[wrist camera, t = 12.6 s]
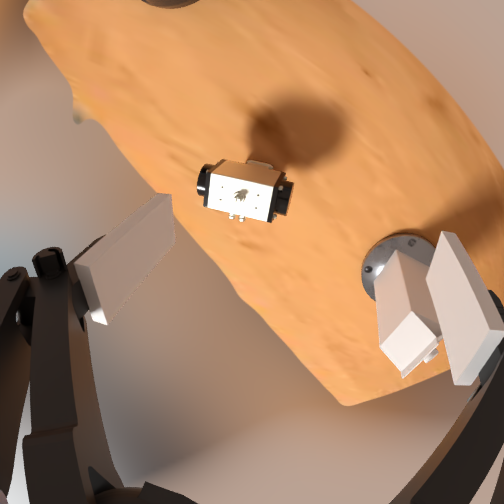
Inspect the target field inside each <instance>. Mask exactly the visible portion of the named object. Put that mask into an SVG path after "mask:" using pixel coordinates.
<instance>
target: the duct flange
mask: <svg viewBox="0 0 504 504" xmlns="http://www.w3.org/2000/svg"><path fill="white" fill-rule="evenodd" d="M395 250H398V251H400V252H402V253H404V254H406V255H408V256H410V257H412V258H414V259H415V260H417V261H419V262H421V263H423V264H425V265H427V266H428V267H430V265H431V262H432V259H433V256H434V253H435V250H436V249H435V247H434V246H433V245H432V244H431V242H429V241H428V240H427V239H425V238H424V237H422V236H419V235H416V234H412V233H399V234H394V235H390V236H388V237H386V238H384V239H382V240H380V241H379V242H377V243H376V244H375V245H374V246H373V247H372V248H371V249H370V250H369V251H368V253H367V255H366V256H365V258H364V261H363V264H362V269H361V275H362V283H363V287H364V289H365V291H366V292H367V294H368V295H369V296H370V297H371V298H372V299H373V300H374V301H376V298H375V289H374V280H375V279H376V277H377V276H378V275H379V273H380V272H381V270H382V269H383V267H384V266H385V264H386V263H387V262H388V260H389V259H390V257H391V256H392V254H393V253H394V251H395Z"/></svg>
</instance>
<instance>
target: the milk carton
mask: <svg viewBox="0 0 504 504" xmlns="http://www.w3.org/2000/svg"><path fill="white" fill-rule="evenodd" d="M429 268H430V267H428V266H427V265H425V264H423V263H421V262H419V261H417V260H415V259H414V258H412V257H410V256H408V255H406V254H404V253H402V252H400V251H398V250H395V251H394V253H393V254H392V256H391V257H390V259H389V260H388V262H387V263H386V264H385V266H384V267H383V269H382V270H381V272H380V273H379V275H378V276H377V277H376V279H375V280H374V289H375V298H376V308H377V319H378V330H379V344H380V349H381V350H382V351H383V352H384V353H385V354H386V355H387V357H388V358H389V359H390V360H391V361H392V362H393V363H394V364H395V366H396V367H397V368H398V369H399V370H400V371H401V376H402V378H404V377H405V376H406V375H408V374H409V373H410V372H411V371H412V370H413V369H414V368H415V367H416V366H417V365H418V364H419V363H420V362H422V361H423V360H424V361H425V363H428V362H429V361H430V360H432V359H433V358H434V357H435V356H436V355H437V354H438V350H437V349H436V347H437V346H438V345H439V342H440V341H441V340H442V339H443V335H442V331H441V328H440V324H439V321H438V317H437V314H436V310H435V307H434V304H433V300H432V297H431V294H430V291H429V288H428V285H427V282H426V276H427V274H428V271H429Z"/></svg>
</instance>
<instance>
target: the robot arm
mask: <svg viewBox="0 0 504 504" xmlns="http://www.w3.org/2000/svg"><path fill="white" fill-rule="evenodd" d="M142 1H143V2H145V3H147V4H149V5H152V6H156V7H160V8H166V9H174V8H181V7H185V6H188V5H190V4H193V3H195V2H197V1H199V0H142ZM175 243H176V239H175V229H174V220H173V208H172V197H171V194H162V193H158V194H156V195H155V196H154V197H152V198H151V199H150V200H148V201H147V202H146V203H145V204H143V205H142V206H141V207H140V208H139V209H137V210H136V211H134V212H133V213H132V214H131V215H130V216H128V217H127V218H126V219H125V220H123V221H122V222H121V223H120V224H119V225H117V226H116V227H115V228H114V229H112V230H111V231H110V232H109V233H108V234H107V235H104V236H102V237H100V238H98V239H96V240H95V241H93V242H92V243H91V244H90V245H89V247H86V248H85V249H84V250H83V252H81V253H79V255H77V256H76V257H75V258H74V259H73V260H72V261H70V262H69V263H68V264H67V265H66V262H65V259H64V256H63V252H62V249H60V248H59V247H50V248H46V249H43V250H41V251H40V252H38V253H37V254H36V255H35V256H34V257H33V259H32V262H33V265H34V268H35V270H36V273H37V276H38V277H29V276H28V273H27V270H26V268H24V267H13V268H12V269H9V270H8V271H7V272H6V273H4V275H3V276H2V277H1V279H0V504H8V502H7V499H6V498H7V495H8V492H9V488H10V484H11V480H12V474H13V467H14V460H15V452H16V446H17V439H18V433H19V427H20V422H21V417H22V412H23V407H24V403H25V398H26V394H27V390H28V385H29V381H30V406H31V407H30V408H31V427H32V429H31V434H30V435H25V436H24V438H23V443H22V449H23V459H24V469H25V476H26V484H27V490H28V496H29V502H30V504H197V503H196V502H194V501H192V500H191V499H189V498H187V497H185V496H184V495H181V494H178V493H175V492H173V491H170V490H167V489H164V488H161V487H158V486H156V485H153V484H151V483H148V482H145V483H144V486H143V488H139V487H124V485H123V483H122V481H121V479H120V477H119V475H118V473H117V471H116V470H115V467H114V465H113V462H112V458H111V454H110V451H109V447H108V443H107V439H106V435H105V431H104V427H103V422H102V418H101V413H100V408H99V403H98V399H97V393H96V388H95V382H94V376H93V370H92V363H91V356H90V349H89V341H88V332H87V323H86V320H85V317H84V315H85V313H86V312H87V311H88V310H90V313H91V316H92V318H93V321H96V322H99V323H102V324H105V325H108V324H109V323H110V322H111V320H112V319H113V318H114V317H115V315H116V314H117V313H118V312H119V310H120V309H121V308H122V307H123V305H124V304H125V303H126V302H127V300H128V299H129V298H130V297H131V295H132V294H133V293H134V292H135V291H136V289H137V288H138V287H139V286H140V284H141V283H142V282H143V281H144V280H145V278H146V277H147V276H148V274H149V273H150V272H151V271H152V270H153V269H154V268H155V266H156V265H157V264H158V263H159V262H160V260H161V259H162V258H163V257H164V256H165V255H166V253H167V252H168V251H169V250H170V249H171V248H172V246H173V245H174V244H175ZM426 282H427V285H428V288H429V291H430V294H431V297H432V300H433V304H434V307H435V310H436V314H437V317H438V321H439V324H440V328H441V331H442V335H443V339H444V343H445V347H446V351H447V355H448V359H449V363H450V368H451V372H452V377H453V382H454V385H471V384H472V383H473V381H474V380H475V379H476V377H477V376H478V375H479V377H480V382H481V383H480V385H479V386H478V387H477V389H476V390H475V391H474V392H473V393H472V395H471V396H470V397H469V399H468V400H467V401H468V403H467V405H466V406H465V408H464V410H463V411H462V413H461V414H460V416H459V417H458V419H457V420H456V422H455V423H454V425H453V426H452V428H451V429H450V431H449V432H448V434H447V435H446V436H445V438H444V439H443V440H442V442H441V443H440V444H439V446H438V447H437V448H436V450H435V451H434V452H433V454H432V455H431V456H430V458H429V459H428V460H427V461H426V463H425V464H424V465H423V466H422V467H421V469H420V470H419V471H418V472H417V473H416V475H415V476H414V477H413V478H412V479H411V481H410V482H409V483H408V484H407V485H406V486H405V487H404V489H402V491H401V492H400V493H399V494H398V495H397V496H396V497H395V498H394V499H393V500H392V501H391V502H390V503H389V504H469V503H470V502H471V500H472V498H473V497H474V495H475V494H476V492H477V491H478V489H479V487H480V486H481V484H482V482H483V480H484V479H485V477H486V476H487V474H488V472H489V470H490V468H491V467H492V465H493V463H494V461H495V459H496V457H497V455H498V453H499V451H500V450H501V448H502V445H503V443H504V309H503V308H504V307H503V305H502V303H501V301H500V299H499V298H498V297H497V295H496V294H495V293H494V292H493V291H492V290H487V288H486V286H485V284H484V282H483V280H482V278H481V277H480V275H479V273H478V271H477V269H476V267H475V266H474V264H473V262H472V260H471V259H470V257H469V255H468V253H467V252H466V250H465V248H464V247H463V245H462V243H461V242H460V240H459V239H458V237H457V235H456V234H455V233H452V232H447V231H441V234H440V237H439V241H438V244H437V247H436V250H435V253H434V256H433V259H432V262H431V265H430V268H429V271H428V274H427V276H426ZM16 316H17V318H18V321H17V322H16ZM490 504H504V459H503V463H502V467H501V471H500V474H499V478H498V481H497V484H496V487H495V490H494V493H493V497H492V499H491V502H490Z"/></svg>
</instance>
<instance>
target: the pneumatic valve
mask: <svg viewBox="0 0 504 504" xmlns="http://www.w3.org/2000/svg"><path fill="white" fill-rule="evenodd" d="M272 169H273V166H271V164H268V163H264V162H259V161H254V160H249V161H248V160H247V164H244V163H239V162H234V161H229V160H224V159H222V160H221V161H220V162H217V164H216V165H211V164H205V165H204V166H203V167H202V169H201V171H200V173H199V177H198V181H197V192H198V195H200V196H204V204H203V206H204V207H208V208H212V209H216V210H221V211H225V212H229V214H230V215H229V218H230V219H234V218H235V215H236V214H237V215H239V216H240V217H239V221H242V222H244V221H245V217H250V218H254V219H258V220H262V221H266V222H270V223H272V221H274V219H276V217H277V215H276V214H280V215H284V216H286V215H287V213H288V209H289V205H290V202H291V197H292V193H293V188H294V183H293V182H289V181H286V180H287V177H286V176H285V175H286V173H284V172H280V171H276V170H272Z"/></svg>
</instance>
